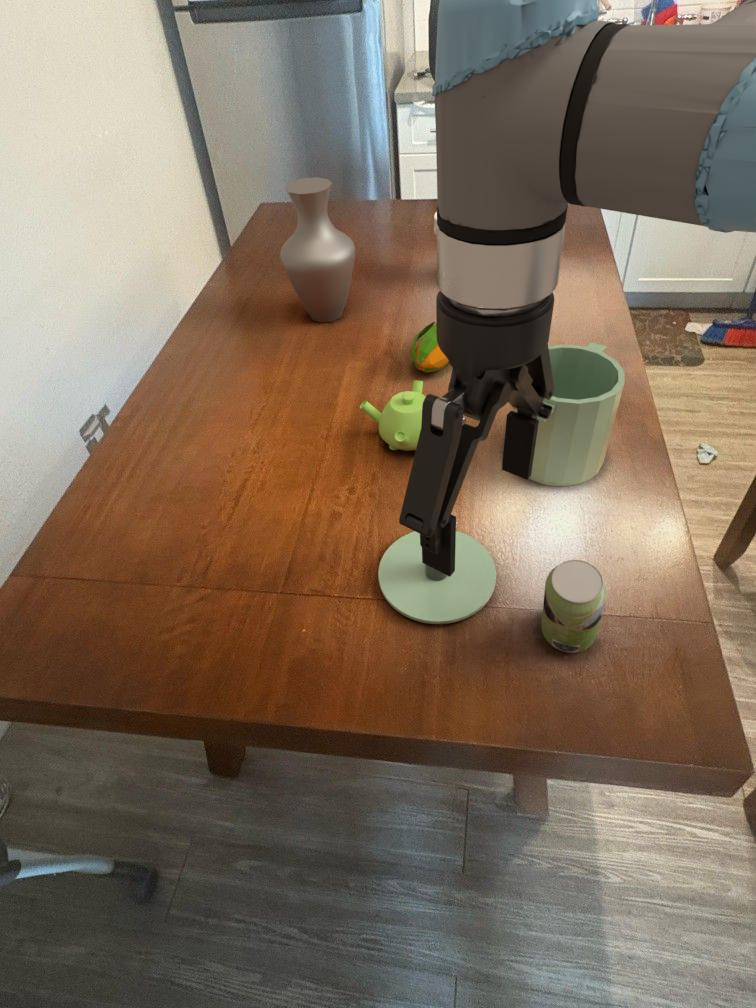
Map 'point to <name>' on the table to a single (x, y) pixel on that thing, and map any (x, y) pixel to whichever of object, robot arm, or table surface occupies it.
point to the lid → (436, 581)
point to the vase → (317, 252)
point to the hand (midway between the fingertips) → (479, 516)
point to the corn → (428, 351)
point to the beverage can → (573, 605)
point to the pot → (577, 415)
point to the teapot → (400, 418)
